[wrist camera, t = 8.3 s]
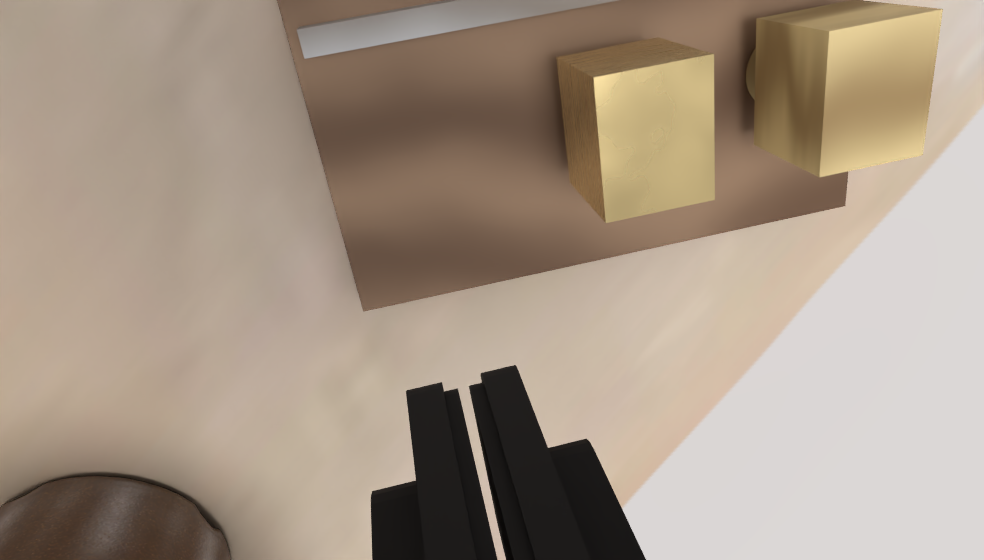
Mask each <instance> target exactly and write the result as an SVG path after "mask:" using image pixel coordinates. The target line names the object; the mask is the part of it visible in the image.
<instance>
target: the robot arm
mask: <svg viewBox="0 0 984 560" xmlns="http://www.w3.org/2000/svg"><path fill="white" fill-rule="evenodd" d="M481 379H482V383H479V384H475V385H471V386H469V389H470V394H471V399H472V403H473V408H474V413H475V418H476V423H477V427H478V432H479V437H480V442H481V447H482V451H483V456H484V461H485V466H486V471H487V475H488V480H489V485H490V490H491V495H492V500H493V504H494V509H495V514H496V519H497V523H498V527H499V532H500V536H501V540H502V544H503V548H504V552H505V556H506V560H646V559H645V557H644V555H643V553H642V550H641V549H640V546H639V544H638V542H637V540H636V538H635V536H634V533H633V532H632V529H631V527H630V525H629V523H628V521H627V519H626V517H625V514H624V512H623V510H622V508H621V506H620V504H619V502H618V500H617V497H616V495H615V493H614V491H613V489H612V487H611V485H610V483H609V481H608V478H607V476H606V474H605V472H604V470H603V468H602V466H601V464H600V461H599V459H598V457H597V455H596V453H595V451H594V449H593V447H592V445H591V443H590V442H589V441H588V440H587V439H583V440H579V441H575V442H571V443H567V444H563V445H559V446H555V447H551V448H548V447H547V445H546V442H545V439H544V437H543V434H542V431H541V429H540V426H539V424H538V421H537V418H536V416H535V413H534V411H533V408H532V405H531V403H530V400H529V397H528V395H527V392H526V390H525V387H524V384H523V382H522V379H521V377H520V374H519V371H518V369H517V367H516V365H514V366H510V367H505V368H501V369H497V370H492V371H488V372H484V373H481ZM406 395H407V404H408V413H409V422H410V430H411V439H412V448H413V457H414V465H415V474H416V481H412V482H408V483H404V484H400V485H396V486H392V487H388V488H384V489H380V490H376V491H372V494H371V524H372V559H373V560H497V556H496V552H495V548H494V543H493V539H492V535H491V530H490V526H489V522H488V517H487V513H486V509H485V504H484V500H483V496H482V491H481V487H480V483H479V478H478V474H477V470H476V465H475V461H474V457H473V452H472V448H471V444H470V439H469V435H468V431H467V426H466V422H465V418H464V413H463V409H462V405H461V400H460V396H459V392H458V389H454V390H449V391H445V392H444V389H443V385H442V382H441V383H437V384H432V385H428V386H424V387H420V388H415V389H411V390H407V391H406Z"/></svg>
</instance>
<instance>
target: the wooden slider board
mask: <svg viewBox="0 0 984 560" xmlns="http://www.w3.org/2000/svg"><path fill="white" fill-rule="evenodd" d="M277 2H278V5H279V9H280V12H281V16H282V20H283V23H284V27H285V30H286V34H287V38H288V41H289V45H290V49H291V52H292V56H293V59H294V63H295V67H296V70H297V74H298V77H299V81H300V85H301V88H302V92H303V95H304V99H305V103H306V106H307V110H308V113H309V117H310V121H311V124H312V128H313V131H314V135H315V139H316V142H317V146H318V149H319V153H320V157H321V160H322V164H323V167H324V171H325V175H326V178H327V182H328V185H329V189H330V193H331V196H332V200H333V203H334V207H335V211H336V214H337V218H338V221H339V225H340V229H341V232H342V236H343V239H344V243H345V247H346V250H347V254H348V257H349V261H350V265H351V268H352V272H353V275H354V279H355V283H356V286H357V290H358V293H359V297H360V301H361V304H362V308H363V311H368V310H372V309H377V308H382V307H386V306H391V305H395V304H400V303H404V302H409V301H413V300H418V299H423V298H427V297H432V296H436V295H441V294H445V293H450V292H454V291H459V290H464V289H468V288H473V287H477V286H482V285H486V284H491V283H496V282H500V281H505V280H509V279H514V278H518V277H523V276H527V275H532V274H537V273H541V272H546V271H550V270H555V269H559V268H564V267H569V266H573V265H578V264H582V263H587V262H591V261H596V260H600V259H605V258H610V257H614V256H619V255H623V254H628V253H632V252H637V251H642V250H646V249H651V248H655V247H660V246H664V245H669V244H673V243H678V242H683V241H687V240H692V239H696V238H701V237H705V236H710V235H715V234H719V233H724V232H728V231H733V230H737V229H742V228H746V227H751V226H756V225H760V224H765V223H769V222H774V221H778V220H783V219H788V218H792V217H797V216H801V215H806V214H810V213H815V212H819V211H824V210H829V209H833V208H838V207H842V206H845V201H846V190H847V179H848V171H852V170H856V169H861V168H866V167H870V166H875V165H880V164H884V163H889V162H894V161H898V160H903V159H907V158H912V157H917V156H921V155H923V148H924V141H925V134H926V127H927V120H928V112H929V105H930V98H931V91H932V83H933V76H934V69H935V62H936V54H937V47H938V40H939V33H940V26H941V18H942V11H943V9H937V8H927V7H917V6H908V5H898V4H889V3H879V2H870V1H863V0H277ZM657 37H659V38H662V39H666V40H669V41H672V42H676V43H679V44H683V45H686V46H689V47H693V48H696V49H699V50H703V51H706V52H709V53H713V54H714V142H715V200H712V201H707V202H703V203H698V204H693V205H689V206H684V207H679V208H675V209H670V210H665V211H661V212H656V213H651V214H647V215H642V216H637V217H633V218H628V219H623V220H619V221H614V222H609V223H605V222H604V221H603V220H602V218H601V217H600V216H599V215H598V214H597V213H596V212H595V211H594V210H593V208H592V207H591V206H590V205H589V204H588V203H587V202H586V201H585V199H584V198H583V197H582V196H581V195H580V194H579V193H578V192H577V191H576V189H575V188H574V187H573V186H572V185H571V184H570V180H569V171H568V162H567V152H566V143H565V134H564V124H563V115H562V106H561V96H560V87H559V78H558V68H557V59H556V57H558V56H564V55H569V54H574V53H579V52H584V51H590V50H595V49H600V48H605V47H610V46H616V45H621V44H626V43H631V42H636V41H642V40H647V39H652V38H657Z"/></svg>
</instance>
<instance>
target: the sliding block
mask: <svg viewBox="0 0 984 560" xmlns="http://www.w3.org/2000/svg"><path fill="white" fill-rule="evenodd" d="M556 59H557V68H558V78H559V87H560V96H561V106H562V115H563V124H564V134H565V143H566V152H567V162H568V171H569V180H570V184H571V185H572V186H573V187H574V188H575V189H576V191H577V192H578V193H579V194H580V195H581V196H582V197H583V198H584V199H585V201H586V202H587V203H588V204H589V205H590V206H591V207H592V208H593V210H594V211H595V212H596V213H597V214H598V215H599V216H600V217H601V218H602V220H603V221H604V222H605V223H609V222H614V221H619V220H623V219H628V218H633V217H637V216H642V215H647V214H651V213H656V212H661V211H665V210H670V209H675V208H679V207H684V206H689V205H693V204H698V203H703V202H707V201H712V200H715V142H714V54H713V53H709V52H706V51H703V50H699V49H696V48H693V47H689V46H686V45H683V44H679V43H676V42H672V41H669V40H666V39H662V38H659V37H657V38H652V39H647V40H642V41H636V42H631V43H626V44H621V45H616V46H610V47H605V48H600V49H595V50H590V51H584V52H579V53H574V54H569V55H564V56H558V57H556Z"/></svg>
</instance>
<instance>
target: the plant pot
mask: <svg viewBox="0 0 984 560" xmlns="http://www.w3.org/2000/svg"><path fill="white" fill-rule="evenodd" d="M0 560H231V559H230V554H229V549H228V546H227V543H226V541H225V538H224V536H223V534H222V533H221V531H220V530H219V529H214V528H212V527H211V526H210V525H209V524H208V522H207V521H206V520H205V519H204V517H203V516H202V515H201V514H200V512H199V510H198V509H197V507H196V505H195V504H193V503H192V502H190V501H189V500H187V499H185V498H184V497H182V496H180V495H178V494H176V493H174V492H171V491H169V490H167V489H165V488H162V487H159V486H156V485H152V484H149V483H145V482H142V481H137V480H132V479H127V478H118V477H106V476H88V477H74V478H67V479H60V480H57V481H53V482H49V483H45V484H44V485H42V486H40V487H38V488H37V489H35V490H33V491H32V492H30V493H29V494H27V495H25V496H23V497H21V498H18V499H16V500H14V501H11V502H7V503H6V504H4V505H3V506H2V507H1V508H0Z"/></svg>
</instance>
